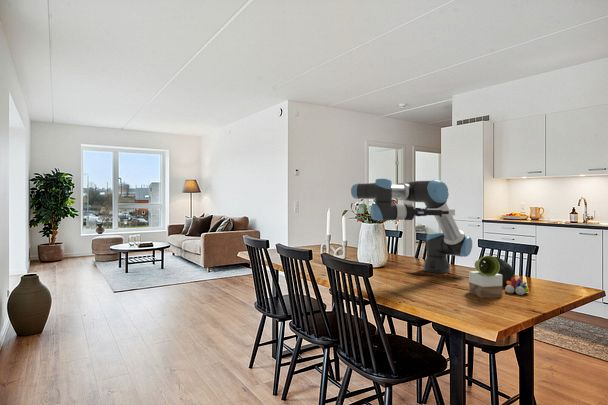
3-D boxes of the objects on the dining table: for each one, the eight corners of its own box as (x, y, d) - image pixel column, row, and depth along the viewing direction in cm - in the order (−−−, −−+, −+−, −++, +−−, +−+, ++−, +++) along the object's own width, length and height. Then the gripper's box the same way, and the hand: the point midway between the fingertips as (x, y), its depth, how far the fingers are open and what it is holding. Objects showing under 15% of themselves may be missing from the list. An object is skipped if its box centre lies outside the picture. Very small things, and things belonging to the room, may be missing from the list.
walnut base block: (469, 292, 180) (469, 282, 180) (489, 292, 181) (489, 281, 181) (481, 298, 170) (481, 287, 170) (502, 297, 171) (502, 286, 171)
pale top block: (468, 282, 180) (468, 271, 180) (487, 281, 182) (487, 270, 182) (482, 287, 170) (482, 275, 170) (502, 286, 172) (502, 275, 172)
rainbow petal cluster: (508, 289, 184) (508, 274, 184) (531, 293, 178) (531, 278, 177) (502, 293, 178) (502, 277, 178) (525, 296, 172) (525, 280, 171)
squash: (515, 271, 202) (495, 249, 204) (523, 278, 187) (501, 254, 189) (493, 287, 205) (473, 266, 207) (499, 295, 191) (477, 272, 193)
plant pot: (483, 280, 178) (492, 281, 169) (466, 267, 179) (474, 268, 170) (494, 263, 179) (503, 263, 170) (477, 251, 180) (485, 251, 171)
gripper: (395, 218, 191) (436, 218, 192) (413, 221, 166) (460, 221, 167) (395, 203, 190) (436, 203, 192) (413, 204, 166) (460, 204, 167)
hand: (447, 211), depth 180 cm, fingers open, 13 cm apart
